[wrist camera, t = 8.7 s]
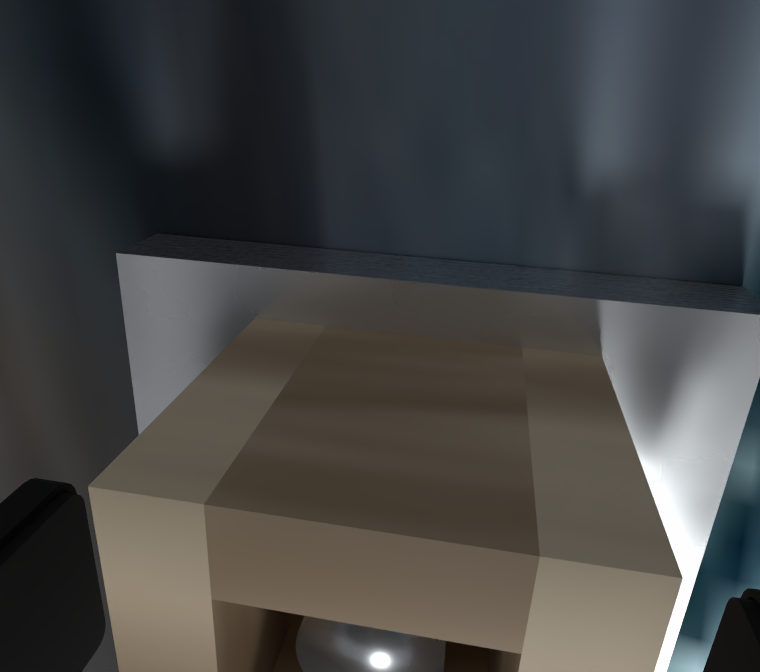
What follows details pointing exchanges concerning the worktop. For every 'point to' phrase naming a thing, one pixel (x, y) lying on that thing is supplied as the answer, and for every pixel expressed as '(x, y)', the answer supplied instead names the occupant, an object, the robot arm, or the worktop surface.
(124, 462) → the hollow wooden block
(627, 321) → the housing plate
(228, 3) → the worktop surface
